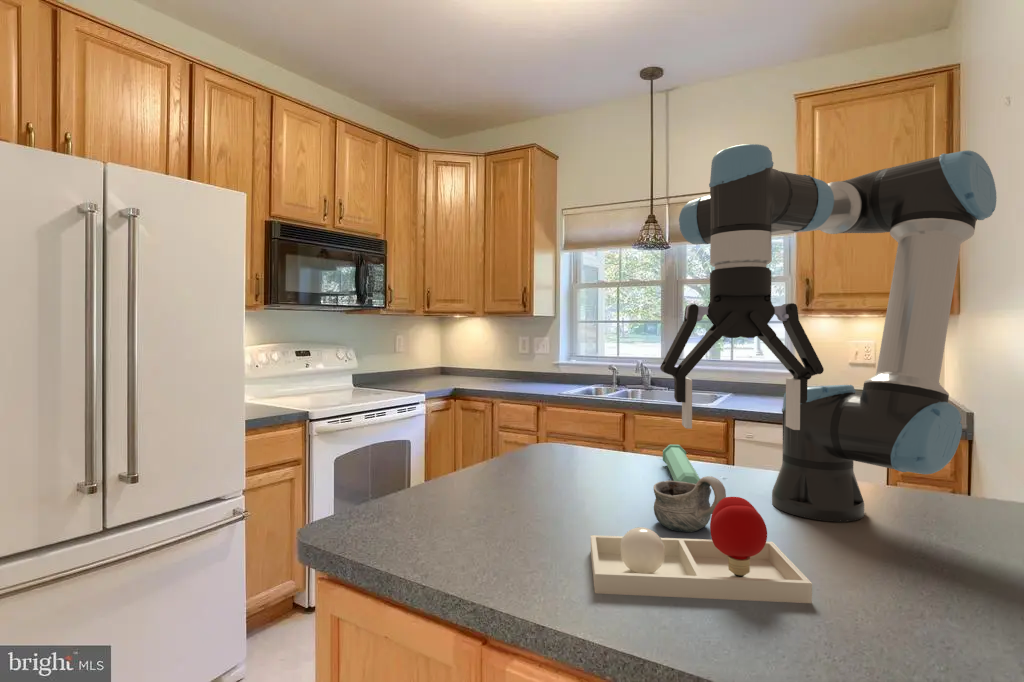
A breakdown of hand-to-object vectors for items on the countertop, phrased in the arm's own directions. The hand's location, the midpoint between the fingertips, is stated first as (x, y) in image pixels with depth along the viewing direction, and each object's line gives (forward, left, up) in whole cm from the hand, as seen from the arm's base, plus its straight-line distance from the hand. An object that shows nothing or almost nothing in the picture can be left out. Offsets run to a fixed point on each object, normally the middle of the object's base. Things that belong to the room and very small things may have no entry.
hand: (739, 427), depth 73 cm
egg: (+13, 0, -20) cm, 24 cm away
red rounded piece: (0, 0, -20) cm, 20 cm away
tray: (+6, 0, -21) cm, 22 cm away
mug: (+2, -18, -21) cm, 28 cm away
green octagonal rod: (-2, -50, -21) cm, 54 cm away
